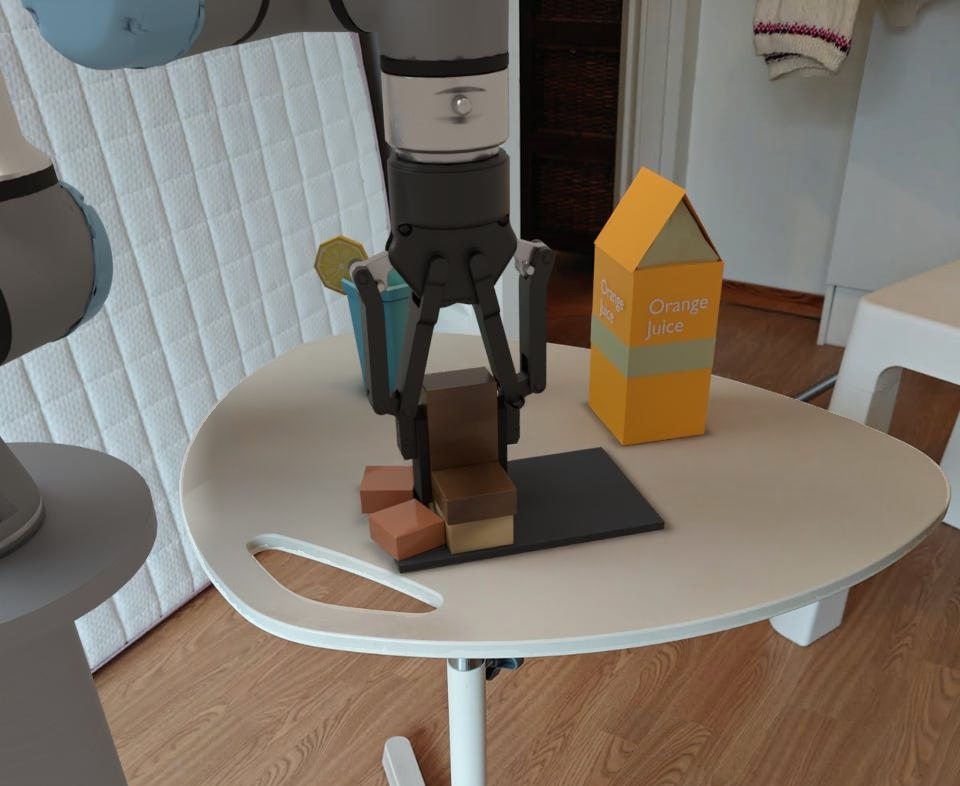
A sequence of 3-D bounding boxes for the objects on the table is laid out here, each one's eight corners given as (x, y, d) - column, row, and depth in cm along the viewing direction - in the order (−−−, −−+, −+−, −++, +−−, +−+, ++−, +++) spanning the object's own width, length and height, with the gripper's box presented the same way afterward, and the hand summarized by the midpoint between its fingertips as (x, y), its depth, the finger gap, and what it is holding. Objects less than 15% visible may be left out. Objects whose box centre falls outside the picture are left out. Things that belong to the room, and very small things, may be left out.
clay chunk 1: (361, 513, 77) (359, 490, 75) (368, 488, 80) (365, 465, 79) (414, 513, 76) (412, 490, 75) (418, 488, 80) (417, 465, 78)
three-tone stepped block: (449, 556, 71) (442, 418, 65) (412, 480, 81) (402, 352, 74) (517, 545, 72) (516, 407, 66) (472, 470, 82) (468, 343, 75)
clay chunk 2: (398, 562, 71) (396, 537, 70) (370, 538, 74) (367, 514, 72) (446, 544, 73) (444, 520, 72) (416, 521, 75) (415, 497, 74)
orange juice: (665, 394, 94) (686, 161, 82) (706, 434, 87) (735, 186, 75) (585, 405, 93) (595, 169, 81) (620, 446, 86) (637, 195, 74)
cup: (466, 364, 101) (461, 206, 92) (481, 395, 95) (477, 229, 86) (326, 378, 99) (307, 218, 90) (332, 411, 93) (312, 242, 84)
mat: (399, 573, 71) (398, 566, 71) (366, 488, 81) (365, 481, 81) (664, 528, 75) (664, 521, 75) (601, 452, 85) (601, 446, 85)
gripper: (308, 174, 57) (349, 533, 71) (610, 148, 60) (592, 494, 74) (291, 148, 62) (332, 484, 76) (567, 125, 66) (558, 450, 80)
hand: (460, 488), depth 75 cm, fingers closed on three-tone stepped block, 5 cm apart
